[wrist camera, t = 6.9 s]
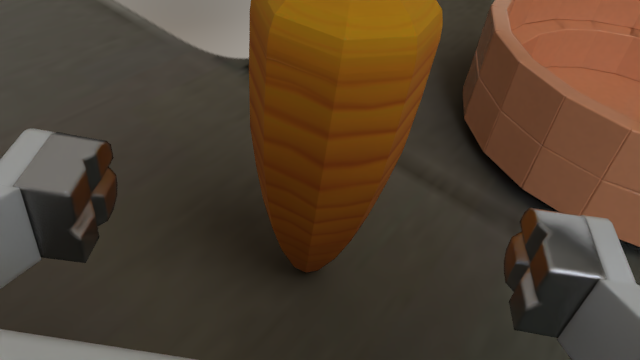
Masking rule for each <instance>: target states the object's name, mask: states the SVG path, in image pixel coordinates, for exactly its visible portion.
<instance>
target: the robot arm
mask: <svg viewBox="0 0 640 360" xmlns="http://www.w3.org/2000/svg"><path fill="white" fill-rule="evenodd" d="M113 158H114V157H113V152H112V147H111V144H110V143H108V142H107V141H103V140H98V139H92V138H87V137H81V136H76V135H70V134H65V133H59V132H56V133H55V132H51V131H45V130H40V129H34V128H30V129H27V130H25V131H23V132H22V134H21V135H20V136H19V137H18V138H17V140H16V141H15V142H14V143H13V145H12V146H11V147H10V148H9V150H8V151H7V152H6V153H5V154H4V156H3V157H2V158H1V159H0V289H1V288H2V287H4V286H5V285H7V284H8V283H9V282H11V281H12V280H14V279H15V278H16V277H18V276H19V275H21V274H22V273H23V272H25V271H26V270H28V269H29V268H30V267H32V266H33V265H35V264H36V263H37V262H39V261H40V260H41V257H43V258H50V259H58V260H66V261H74V262H81V263H86V262H87V260H88V258H89V256H90V254H91V252H92V250H93V248H94V247H95V245H96V243H97V241H98V239H99V233H98V226H100V225H101V224H103V223H105V222H107V221H108V220H109V218H110V216H111V214H112V212H113V210H114V206H115V202H116V198H117V185H118V184H117V177H116V174H115V173H114V172H113V171H112V170H111V169H110V168H109V165H110V163H111V161H112V160H113ZM520 225H521V230H522V232H520V233H518V234H516V235H515V236H513V237H512V238H511V240H510V242H509V244H508V246H507V249H506V253H505V258H504V276H505V283H506V284H507V285H508V286H509V287H510V288H511V289H512V291H513V292H514V293H513V295H512V296H511V298H510V300H509V305H510V311H511V316H512V321H513V327H514V330H517V331H523V332H528V333H534V334H539V335H545V336H550V337H556V338H558V339H557V341H558V342H559V343H560V345H561V346H562V347H563V349H564V350H565V351H566V353H567V354H568V355H569V357H570V358H571V359H572V360H640V285H637V284H636V281H635V279H634V276H633V274H632V271H631V269H630V266H629V264H628V261H627V259H626V256H625V254H624V251H623V249H622V246H621V244H620V241H619V239H618V236H617V234H616V231H615V229H614V226H613V224H612V222H611V221H610V220H608V219H607V218H599V217H592V216H585V215H575V214H569V213H562V212H555V211H549V210H542V209H535V208H529V209H528V210H527V211H525V212H524V214H523V216H522V218H521V220H520ZM0 360H197V359H190V358H184V357H177V356H171V355H165V354H158V353H152V352H145V351H139V350H132V349H126V348H119V347H113V346H106V345H100V344H94V343H87V342H81V341H74V340H68V339H61V338H55V337H48V336H42V335H36V334H29V333H23V332H16V331H10V330H3V329H0Z"/></svg>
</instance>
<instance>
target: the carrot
mask: <svg viewBox="0 0 640 360" xmlns="http://www.w3.org/2000/svg"><path fill="white" fill-rule="evenodd" d="M442 25H443V21H442V9H441V7H440V6H439V4H438V2H437V1H436V0H251V6H250V44H249V46H250V49H249V89H250V128H251V134H252V141H253V148H254V154H255V161H256V167H257V172H258V177H259V181H260V186H261V191H262V196H263V201H264V204H265V207H266V210H267V213H268V216H269V219H270V222H271V225H272V228H273V231H274V233H275V235H276V238H277V240H278V242H279V245H280V247H281V249H282V251H283V252H284V254H285V255H286V257H287V258H288V259H289V261H290V262H291V263H292V265H293V266H294V267H295V268H297V269H299V270H301V271H303V272H305V273H306V272H311V271H317V270H319V269H320V268H322V267H323V266H325V265H326V264H328V263H329V262H330V261H332V260H333V259H335V258H336V257H337V255H338V254H339V253H340V252H341V251H342V250H343V249H344V248H345V247H346V246H347V244H348V243H349V242H350V241H351V240H352V238H353V237H354V235H355V234H356V232H357V231H358V229H359V228H360V226H361V225H362V224H363V222H364V221H365V219H366V218H367V216H368V215H369V213H370V211H371V209H372V208H373V206H374V204H375V202H376V201H377V199H378V197H379V195H380V194H381V192H382V190H383V188H384V187H385V185H386V183H387V181H388V179H389V177H390V175H391V173H392V171H393V169H394V167H395V165H396V163H397V161H398V159H399V157H400V155H401V153H402V151H403V149H404V146H405V143H406V140H407V138H408V135H409V132H410V129H411V126H412V123H413V121H414V118H415V115H416V112H417V109H418V106H419V104H420V101H421V98H422V95H423V92H424V88H425V85H426V82H427V79H428V76H429V73H430V69H431V66H432V63H433V60H434V57H435V54H436V50H437V47H438V44H439V41H440V37H441V31H442Z"/></svg>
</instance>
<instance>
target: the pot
mask: <svg viewBox="0 0 640 360" xmlns="http://www.w3.org/2000/svg"><path fill="white" fill-rule="evenodd" d="M463 105H464V118H465V121H466V123H467V124H468V126H469V128H470V130H471V131H472V133H473V135H474V137H475V138H476V140H477V142H478V144H479V146H480V147H481V149H482V151H483V152H484V153H485V154H486V155H487V156H488V157H489V158H490V159H491V160H492V161H493V162H494V163H495V164H497V165H498V166H499V167H500V168H501V169H502V170H503V171H504V172H505V173H506V174H507V175H508V176H509V177H510V178H511V179H512V180H513V181H514V182H515V183H516V184H517V185H518V186H520V187H521V188H522V189H523V190H525V191H526V192H528V193H529V194H531V195H533V196H534V197H536V198H537V199H539V200H541V201H542V202H544V203H546V204H547V205H549V206H550V207H552V208H554V209H555V210H557V211H558V212H562V213H569V214H575V215H585V216H592V217H599V218H607V219H608V220H610V221H611V222H612V224H613V226H614V229H615V231H616V234H617V236H618V239H620V240H622V241H625V242H627V243H630V244H633V245H635V246H638V247H640V0H494V2H493V3H492V5H491V6H490V9H489V12H488V15H487V18H486V21H485V24H484V27H483V30H482V33H481V36H480V39H479V42H478V45H477V49H476V51H475V54H474V57H473V60H472V63H471V66H470V69H469V72H468V75H467V78H466V81H465V84H464V87H463Z"/></svg>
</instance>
